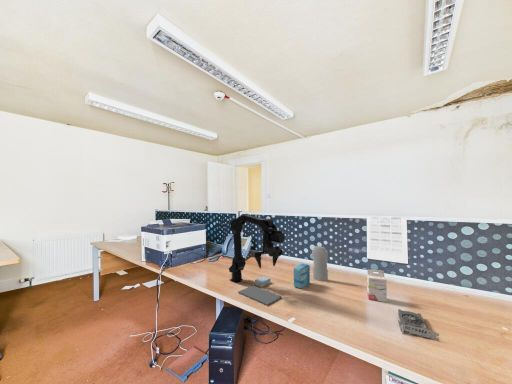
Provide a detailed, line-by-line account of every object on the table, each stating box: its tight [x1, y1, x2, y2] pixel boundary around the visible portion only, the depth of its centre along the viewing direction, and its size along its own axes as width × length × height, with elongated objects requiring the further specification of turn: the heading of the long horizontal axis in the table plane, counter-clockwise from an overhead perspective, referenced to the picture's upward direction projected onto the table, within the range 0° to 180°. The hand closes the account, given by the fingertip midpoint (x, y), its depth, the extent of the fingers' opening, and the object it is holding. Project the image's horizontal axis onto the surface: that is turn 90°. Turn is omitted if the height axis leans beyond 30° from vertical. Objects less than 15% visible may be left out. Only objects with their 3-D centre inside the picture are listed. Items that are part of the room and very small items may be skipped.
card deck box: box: [254, 275, 271, 288], centre depth 139 cm, size 6×8×3 cm, turn 137°
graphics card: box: [397, 308, 440, 341], centre depth 92 cm, size 17×4×12 cm
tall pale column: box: [311, 245, 329, 282], centre depth 144 cm, size 11×4×22 cm, turn 55°
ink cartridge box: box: [366, 269, 388, 303], centre depth 116 cm, size 9×5×15 cm, turn 71°
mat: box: [237, 285, 283, 307], centre depth 122 cm, size 22×12×1 cm, turn 46°
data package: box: [293, 263, 311, 289], centre depth 135 cm, size 12×4×12 cm, turn 138°
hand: (267, 267), depth 128 cm, fingers open, 9 cm apart
